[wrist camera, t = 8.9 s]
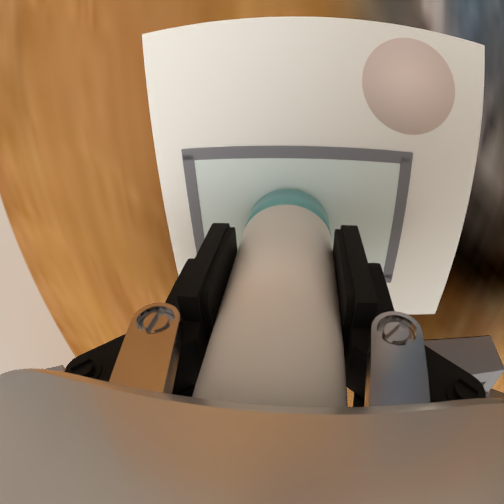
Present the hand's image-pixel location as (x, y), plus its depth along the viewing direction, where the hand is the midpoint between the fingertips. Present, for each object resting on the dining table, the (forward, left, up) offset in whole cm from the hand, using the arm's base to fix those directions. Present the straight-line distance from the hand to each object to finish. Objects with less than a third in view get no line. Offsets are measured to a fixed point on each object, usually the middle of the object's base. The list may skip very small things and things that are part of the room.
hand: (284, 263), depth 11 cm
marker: (0, 0, -3) cm, 3 cm away
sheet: (-1, -1, -4) cm, 4 cm away
